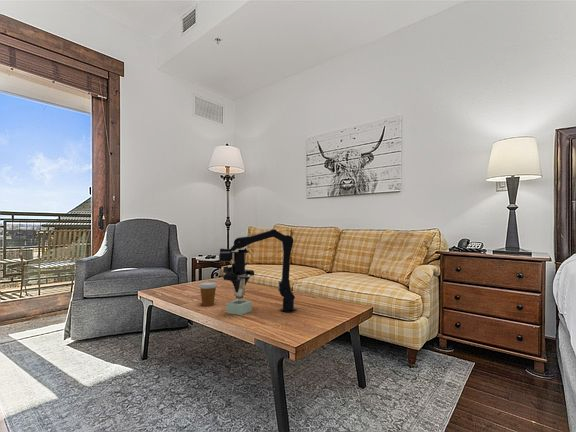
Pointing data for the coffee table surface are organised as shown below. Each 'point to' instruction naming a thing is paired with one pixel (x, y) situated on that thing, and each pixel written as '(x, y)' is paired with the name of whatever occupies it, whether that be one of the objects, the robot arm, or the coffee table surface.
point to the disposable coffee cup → (208, 293)
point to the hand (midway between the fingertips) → (239, 291)
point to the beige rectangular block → (240, 289)
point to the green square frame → (239, 307)
